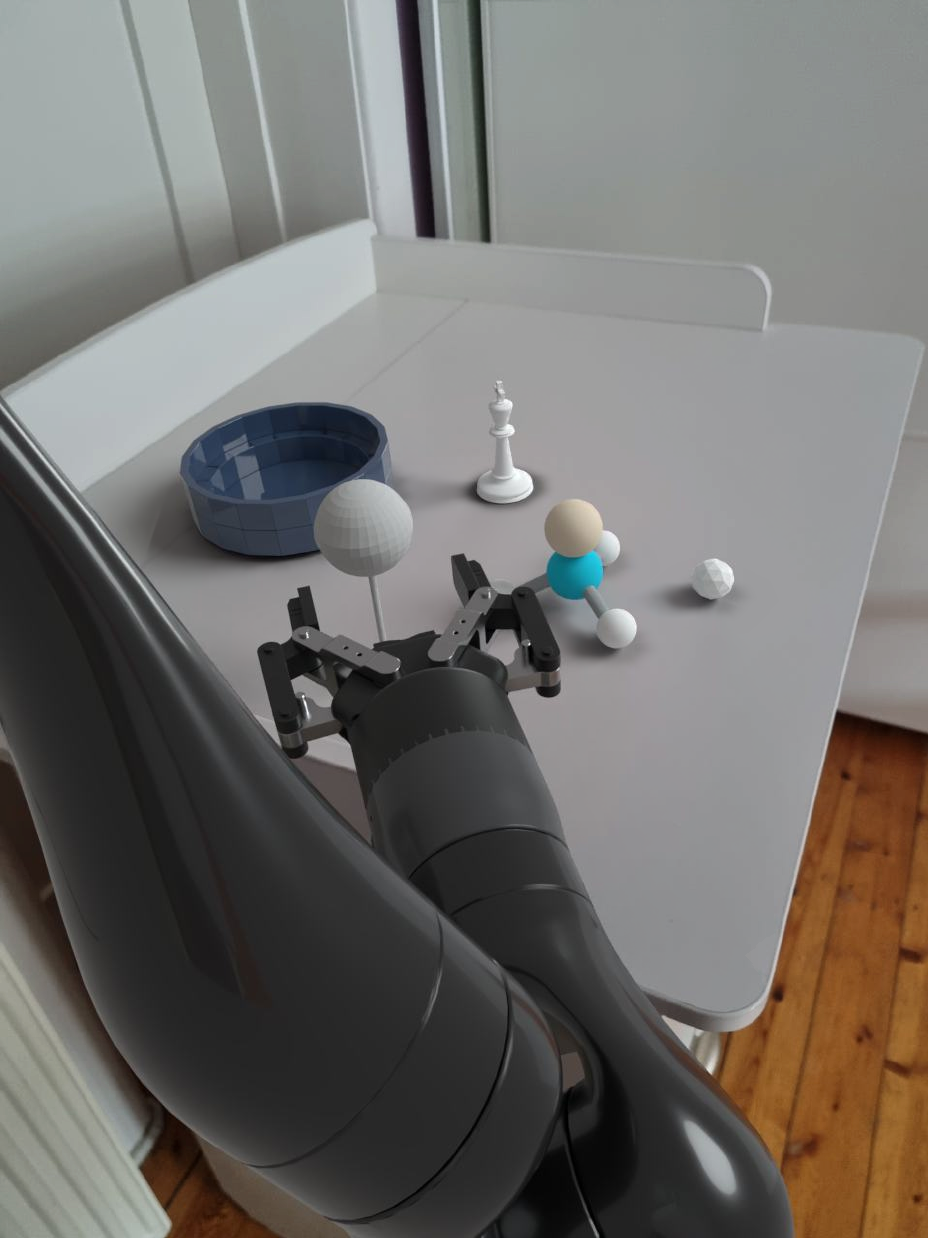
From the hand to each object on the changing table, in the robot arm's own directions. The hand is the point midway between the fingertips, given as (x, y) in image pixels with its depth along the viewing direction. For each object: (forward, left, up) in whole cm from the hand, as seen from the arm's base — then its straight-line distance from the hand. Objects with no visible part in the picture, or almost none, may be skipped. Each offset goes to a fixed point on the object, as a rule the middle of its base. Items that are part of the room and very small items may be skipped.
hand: (382, 583), depth 52 cm
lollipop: (+3, +5, -13) cm, 14 cm away
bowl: (+13, +28, -12) cm, 34 cm away
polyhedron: (+24, -7, -13) cm, 28 cm away
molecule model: (+16, 0, -13) cm, 21 cm away
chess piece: (+26, +15, -13) cm, 33 cm away
